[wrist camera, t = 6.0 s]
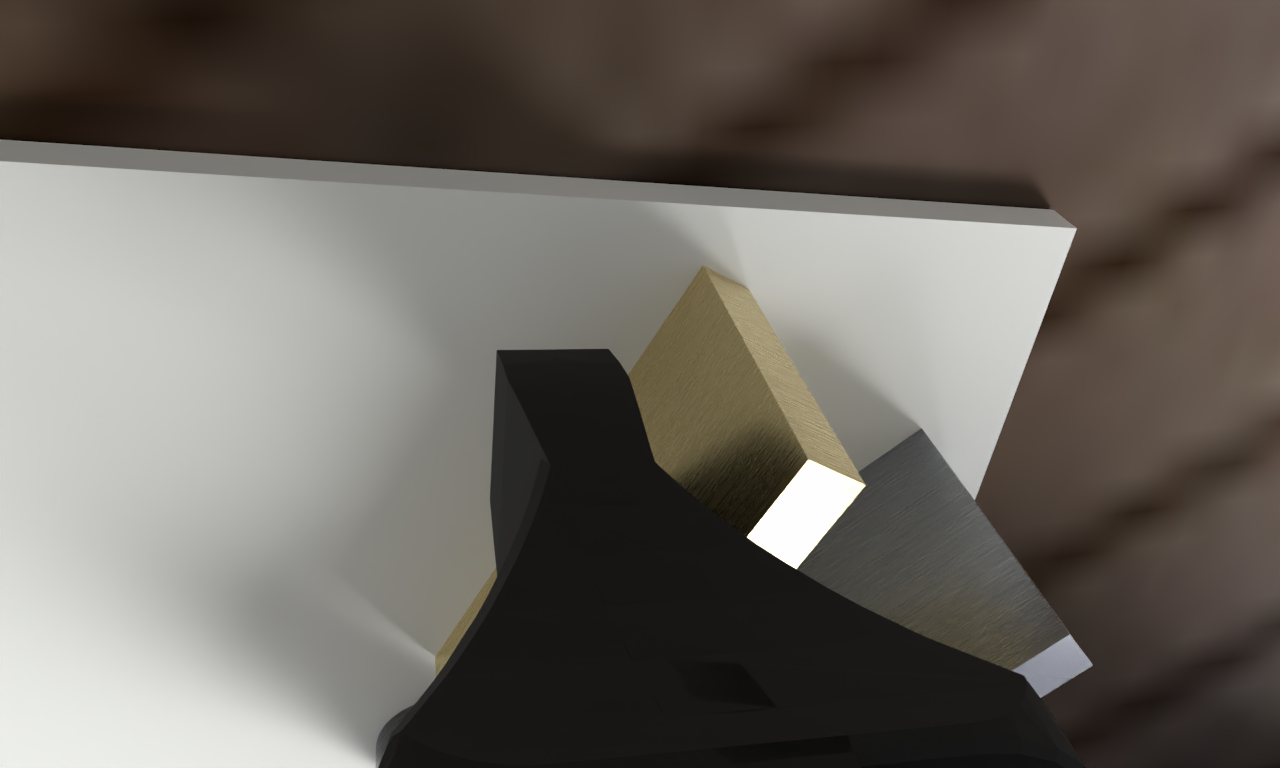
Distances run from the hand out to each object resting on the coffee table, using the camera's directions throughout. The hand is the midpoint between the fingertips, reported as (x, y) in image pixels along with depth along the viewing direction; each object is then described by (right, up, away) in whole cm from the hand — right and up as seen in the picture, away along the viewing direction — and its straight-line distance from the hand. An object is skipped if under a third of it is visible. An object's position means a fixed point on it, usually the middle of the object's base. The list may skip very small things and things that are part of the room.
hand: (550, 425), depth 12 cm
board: (-2, -2, +3) cm, 4 cm away
